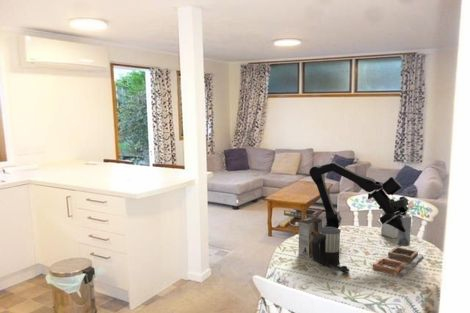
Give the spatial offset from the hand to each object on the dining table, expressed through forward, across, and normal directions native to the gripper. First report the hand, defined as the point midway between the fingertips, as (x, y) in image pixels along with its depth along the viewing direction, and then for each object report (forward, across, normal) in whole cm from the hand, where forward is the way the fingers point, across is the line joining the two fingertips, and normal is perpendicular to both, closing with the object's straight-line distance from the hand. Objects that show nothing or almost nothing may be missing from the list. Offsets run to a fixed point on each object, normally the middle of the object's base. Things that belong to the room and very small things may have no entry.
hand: (407, 230), depth 161 cm
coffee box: (-14, -26, +32) cm, 44 cm away
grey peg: (+4, 0, +6) cm, 7 cm away
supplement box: (-3, +24, +21) cm, 32 cm away
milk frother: (-3, -32, +21) cm, 38 cm away
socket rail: (+9, -8, +9) cm, 15 cm away
